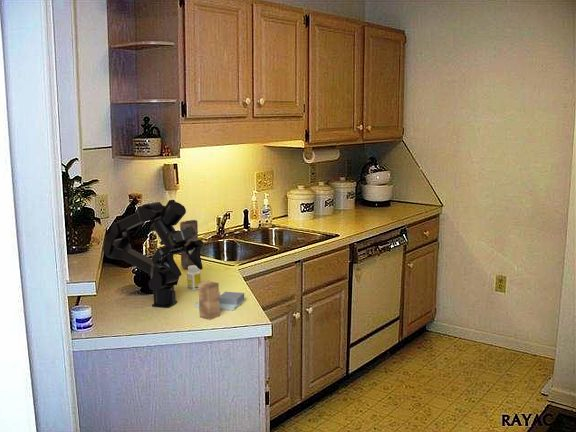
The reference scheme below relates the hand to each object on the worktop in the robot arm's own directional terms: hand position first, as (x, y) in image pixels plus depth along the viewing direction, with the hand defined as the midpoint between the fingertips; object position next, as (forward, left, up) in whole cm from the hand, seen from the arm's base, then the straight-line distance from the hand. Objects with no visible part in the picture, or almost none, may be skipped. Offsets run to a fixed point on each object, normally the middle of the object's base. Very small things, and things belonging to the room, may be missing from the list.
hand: (191, 272), depth 199 cm
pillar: (+7, -3, -14) cm, 15 cm away
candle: (-25, +52, -14) cm, 60 cm away
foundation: (+6, +10, -14) cm, 18 cm away
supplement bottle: (-11, +25, -14) cm, 31 cm away
